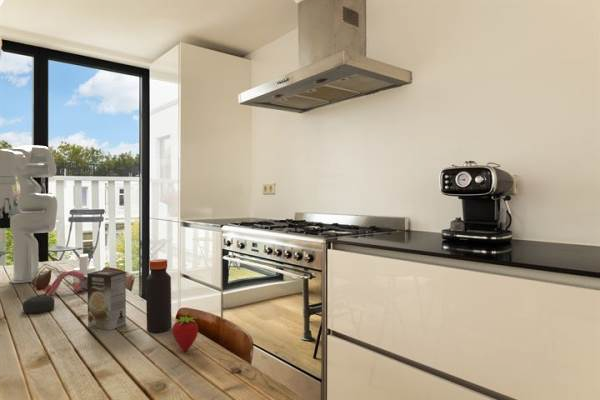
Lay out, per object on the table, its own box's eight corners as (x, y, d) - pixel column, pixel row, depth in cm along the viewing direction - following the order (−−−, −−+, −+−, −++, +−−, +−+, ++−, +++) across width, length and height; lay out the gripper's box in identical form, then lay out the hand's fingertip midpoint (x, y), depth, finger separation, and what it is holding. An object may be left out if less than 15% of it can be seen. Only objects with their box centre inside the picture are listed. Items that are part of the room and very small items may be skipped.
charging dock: (79, 286, 166) (79, 273, 166) (84, 285, 167) (84, 273, 167) (91, 291, 155) (91, 278, 155) (96, 291, 157) (96, 277, 157)
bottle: (148, 335, 106) (147, 263, 106) (145, 327, 112) (144, 259, 112) (173, 330, 109) (172, 261, 109) (169, 323, 115) (168, 257, 115)
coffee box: (86, 327, 113) (85, 273, 113) (103, 320, 119) (103, 269, 119) (110, 330, 110) (109, 275, 110) (127, 323, 116) (126, 270, 116)
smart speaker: (57, 310, 131) (57, 298, 131) (26, 316, 124) (26, 304, 124) (50, 305, 137) (50, 294, 137) (20, 311, 130) (20, 299, 130)
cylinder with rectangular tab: (74, 280, 178) (73, 254, 178) (96, 278, 182) (95, 253, 182) (72, 284, 170) (71, 257, 170) (94, 281, 174) (94, 255, 174)
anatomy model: (93, 282, 157) (60, 254, 150) (61, 312, 150) (25, 284, 143) (89, 277, 166) (58, 251, 159) (58, 305, 159) (25, 279, 152)
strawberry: (190, 343, 99) (189, 305, 99) (203, 352, 94) (203, 312, 93) (168, 349, 95) (167, 310, 95) (180, 359, 90) (179, 317, 90)
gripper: (-12, 181, 152) (-11, 227, 152) (-5, 180, 142) (-4, 230, 142) (11, 182, 157) (12, 226, 158) (19, 181, 147) (20, 228, 148)
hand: (4, 228), depth 150 cm, fingers closed
